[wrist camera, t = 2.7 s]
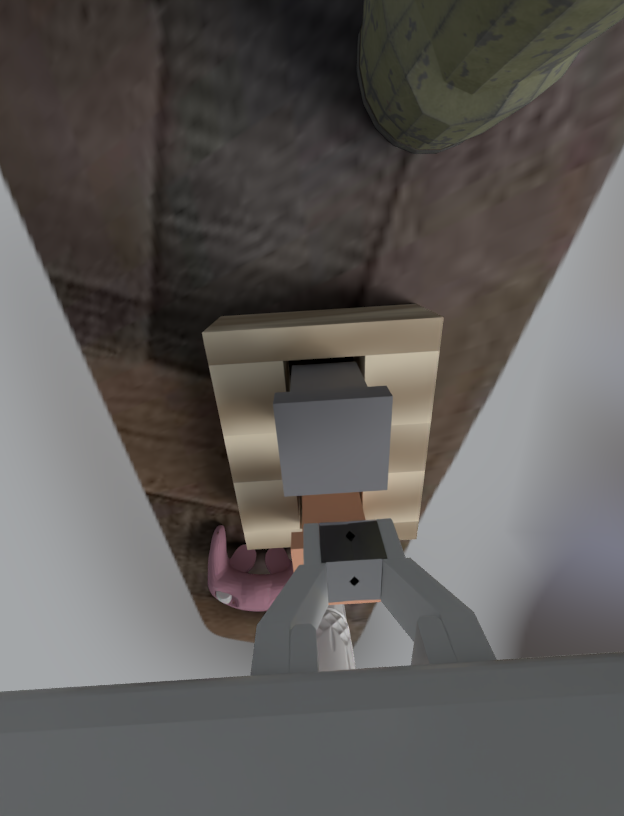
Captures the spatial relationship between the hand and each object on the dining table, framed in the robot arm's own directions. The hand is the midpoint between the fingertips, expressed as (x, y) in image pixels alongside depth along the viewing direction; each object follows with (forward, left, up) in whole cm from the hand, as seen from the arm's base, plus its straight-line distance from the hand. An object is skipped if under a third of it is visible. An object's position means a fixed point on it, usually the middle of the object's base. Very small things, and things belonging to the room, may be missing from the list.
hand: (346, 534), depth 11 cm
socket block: (+4, 0, -16) cm, 16 cm away
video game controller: (+18, -7, -16) cm, 25 cm away
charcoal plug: (0, 0, -11) cm, 11 cm away
